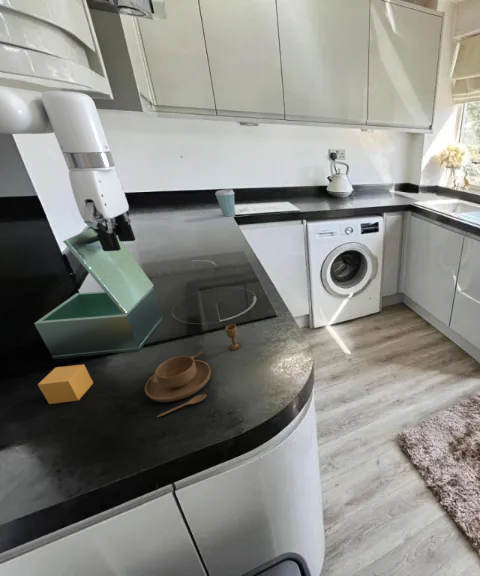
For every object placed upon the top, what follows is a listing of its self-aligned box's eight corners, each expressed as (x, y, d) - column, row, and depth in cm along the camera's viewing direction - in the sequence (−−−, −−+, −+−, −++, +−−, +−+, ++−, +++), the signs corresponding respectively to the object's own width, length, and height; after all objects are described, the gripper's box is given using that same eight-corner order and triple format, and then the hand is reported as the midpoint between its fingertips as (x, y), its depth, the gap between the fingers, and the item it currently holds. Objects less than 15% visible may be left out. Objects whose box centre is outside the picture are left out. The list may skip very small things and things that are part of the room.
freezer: (53, 359, 75) (33, 323, 70) (91, 325, 88) (76, 293, 83) (139, 350, 78) (126, 315, 74) (163, 319, 91) (153, 287, 87)
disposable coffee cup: (224, 218, 193) (219, 192, 187) (216, 215, 200) (211, 190, 193) (241, 215, 201) (237, 190, 194) (232, 212, 207) (228, 188, 200)
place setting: (144, 371, 72) (136, 350, 69) (239, 341, 82) (234, 321, 80) (150, 424, 59) (140, 400, 56) (260, 380, 70) (256, 358, 67)
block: (49, 404, 63) (37, 384, 61) (65, 386, 67) (55, 367, 65) (78, 400, 64) (68, 381, 62) (93, 382, 68) (84, 364, 66)
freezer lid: (62, 241, 65) (87, 233, 65) (103, 222, 78) (123, 215, 78) (123, 314, 74) (145, 307, 74) (151, 286, 87) (169, 280, 87)
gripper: (93, 158, 73) (120, 235, 81) (37, 166, 58) (77, 260, 66) (131, 158, 74) (154, 234, 82) (86, 166, 59) (119, 257, 67)
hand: (120, 244), depth 74 cm, fingers closed on freezer lid, 6 cm apart
